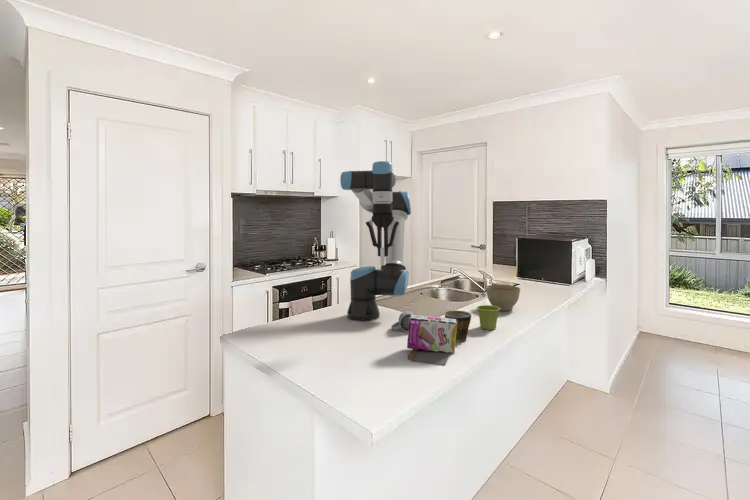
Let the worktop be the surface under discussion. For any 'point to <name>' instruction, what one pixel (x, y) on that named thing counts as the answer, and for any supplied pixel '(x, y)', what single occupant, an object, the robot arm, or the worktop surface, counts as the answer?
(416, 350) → the strip
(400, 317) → the ceramic mug
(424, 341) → the candy bar box
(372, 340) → the worktop surface
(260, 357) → the worktop surface
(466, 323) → the ceramic cup
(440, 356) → the mat
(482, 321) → the plant pot
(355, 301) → the robot arm
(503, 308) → the planter bowl
